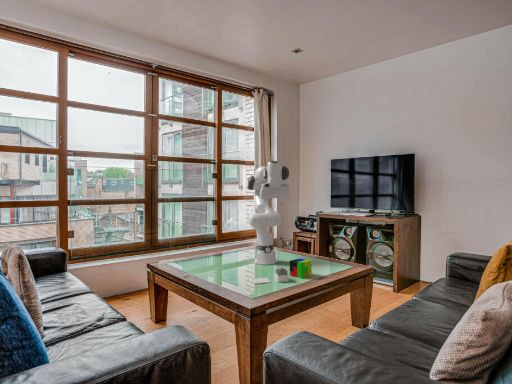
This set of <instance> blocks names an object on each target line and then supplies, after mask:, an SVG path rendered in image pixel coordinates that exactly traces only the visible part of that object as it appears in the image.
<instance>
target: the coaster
mask: <svg viewBox="0 0 512 384" xmlns="http://www.w3.org/2000/svg"><path fill="white" fill-rule="evenodd" d="M251 281H252V283H253V284H254V285H261V284H262V285H263V284H271V280H270V279H269V278H268V277H259V278H251Z"/></svg>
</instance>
